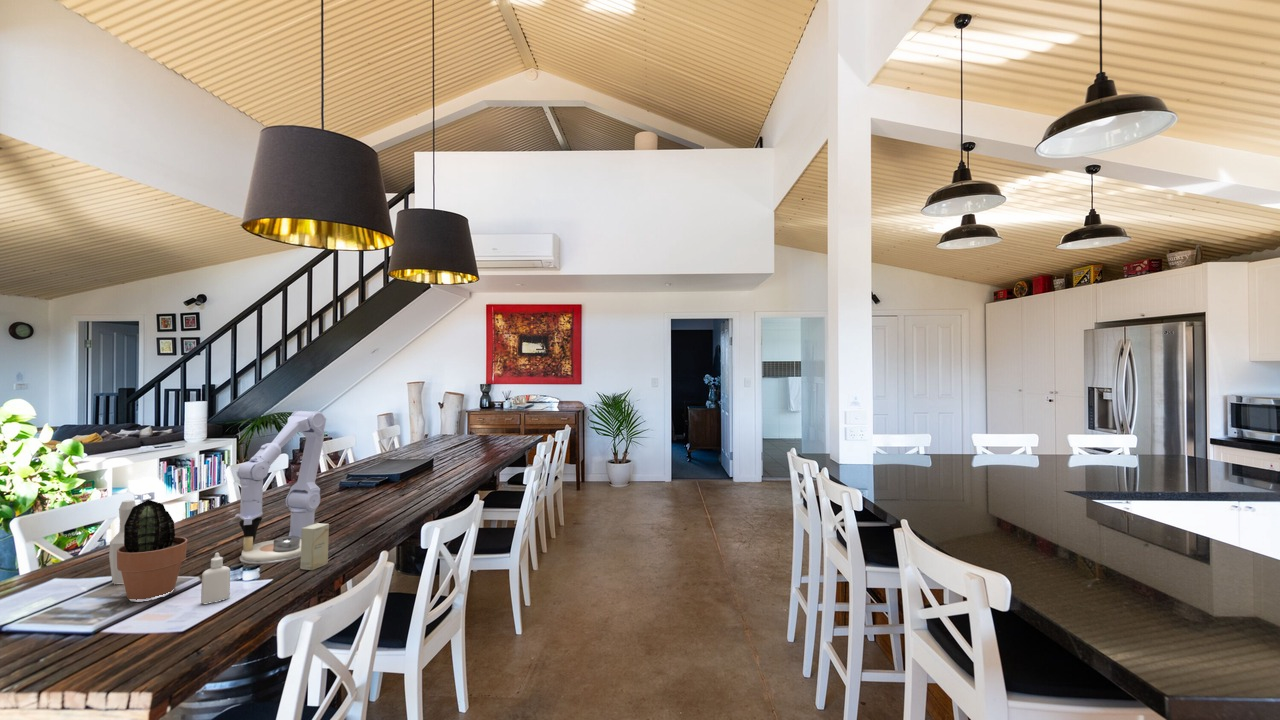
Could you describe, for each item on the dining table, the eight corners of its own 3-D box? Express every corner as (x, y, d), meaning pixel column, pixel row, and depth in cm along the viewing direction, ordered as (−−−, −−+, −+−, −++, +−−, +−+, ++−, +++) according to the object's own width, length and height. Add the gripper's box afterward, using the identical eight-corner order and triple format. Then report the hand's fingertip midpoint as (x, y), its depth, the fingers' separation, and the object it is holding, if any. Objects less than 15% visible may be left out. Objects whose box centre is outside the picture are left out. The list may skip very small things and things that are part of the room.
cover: (274, 546, 173) (274, 537, 173) (300, 544, 177) (300, 534, 177) (272, 553, 167) (272, 543, 167) (298, 550, 171) (299, 540, 171)
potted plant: (194, 592, 143) (198, 496, 144) (126, 611, 131) (130, 507, 132) (172, 581, 150) (176, 490, 151) (105, 598, 138) (110, 499, 139)
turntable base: (244, 549, 177) (244, 547, 177) (312, 541, 187) (312, 540, 187) (234, 568, 161) (234, 566, 161) (309, 558, 170) (309, 556, 170)
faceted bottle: (120, 587, 146) (124, 504, 146) (102, 584, 147) (105, 502, 147) (146, 578, 152) (149, 499, 152) (128, 576, 153) (131, 497, 154)
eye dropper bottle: (205, 598, 139) (207, 551, 140) (231, 595, 141) (233, 549, 141) (198, 605, 135) (200, 556, 135) (225, 602, 137) (227, 554, 137)
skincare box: (312, 570, 160) (313, 529, 160) (299, 569, 161) (300, 528, 161) (328, 563, 166) (329, 523, 166) (316, 562, 167) (317, 522, 167)
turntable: (246, 547, 177) (246, 530, 177) (310, 540, 186) (311, 523, 186) (237, 565, 161) (237, 546, 162) (308, 556, 170) (308, 538, 170)
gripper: (239, 496, 179) (238, 537, 179) (232, 505, 166) (230, 550, 166) (265, 494, 182) (264, 534, 182) (260, 503, 170) (258, 547, 169)
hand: (250, 542), depth 174 cm, fingers closed
